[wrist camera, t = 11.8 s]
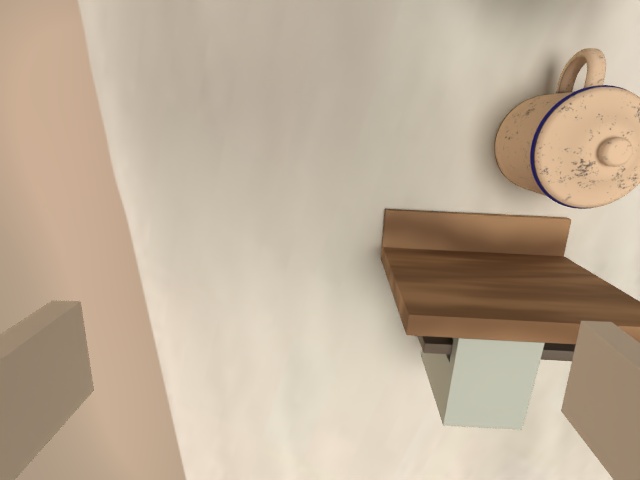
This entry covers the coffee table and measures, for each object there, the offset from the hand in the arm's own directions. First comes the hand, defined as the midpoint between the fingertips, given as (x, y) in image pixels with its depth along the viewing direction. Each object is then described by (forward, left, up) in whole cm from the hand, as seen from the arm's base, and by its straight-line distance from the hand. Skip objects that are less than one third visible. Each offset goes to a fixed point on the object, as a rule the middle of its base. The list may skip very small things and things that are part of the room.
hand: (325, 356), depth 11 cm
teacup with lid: (-6, +19, -32) cm, 38 cm away
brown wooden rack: (+7, +14, -31) cm, 35 cm away
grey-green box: (+13, +12, -26) cm, 32 cm away
